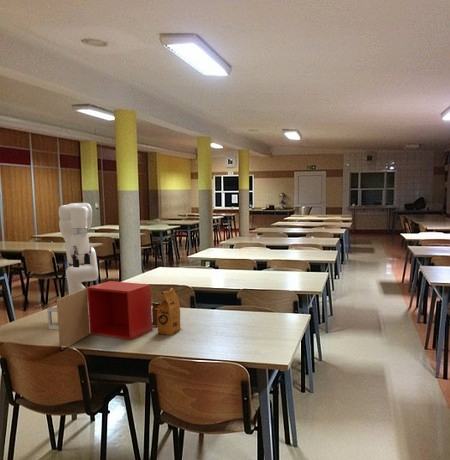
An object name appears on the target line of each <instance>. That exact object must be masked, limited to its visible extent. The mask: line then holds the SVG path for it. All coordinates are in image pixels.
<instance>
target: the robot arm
mask: <svg viewBox="0 0 450 460" xmlns="http://www.w3.org/2000/svg"><path fill="white" fill-rule="evenodd" d="M58 217H59V221H58V227H59V231H60V233H61V236H62V237H63V241H64V243H65V244H64V245H65V251H66V252H65V253H66V259H67V262H68V264H71V265H70V266H68V267H67V268H66V269H65V276H66V281H67V288H68V295H70V294H72V293H74V292H77V291H79V290H82V289H84V288H86V286H84V284H83V283H84V282H93V281H97V280H98V278H99V267H98V259H97V253H96V250H95V248H94V247H93V246H91V245H90V239H89V230H91V228H92V222H93V221H92V220H93V208H92V206H91V204H90V203H89V202H71V203H68V204H64V205H63V204H62V205H60V206H59V208H58Z"/></svg>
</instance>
